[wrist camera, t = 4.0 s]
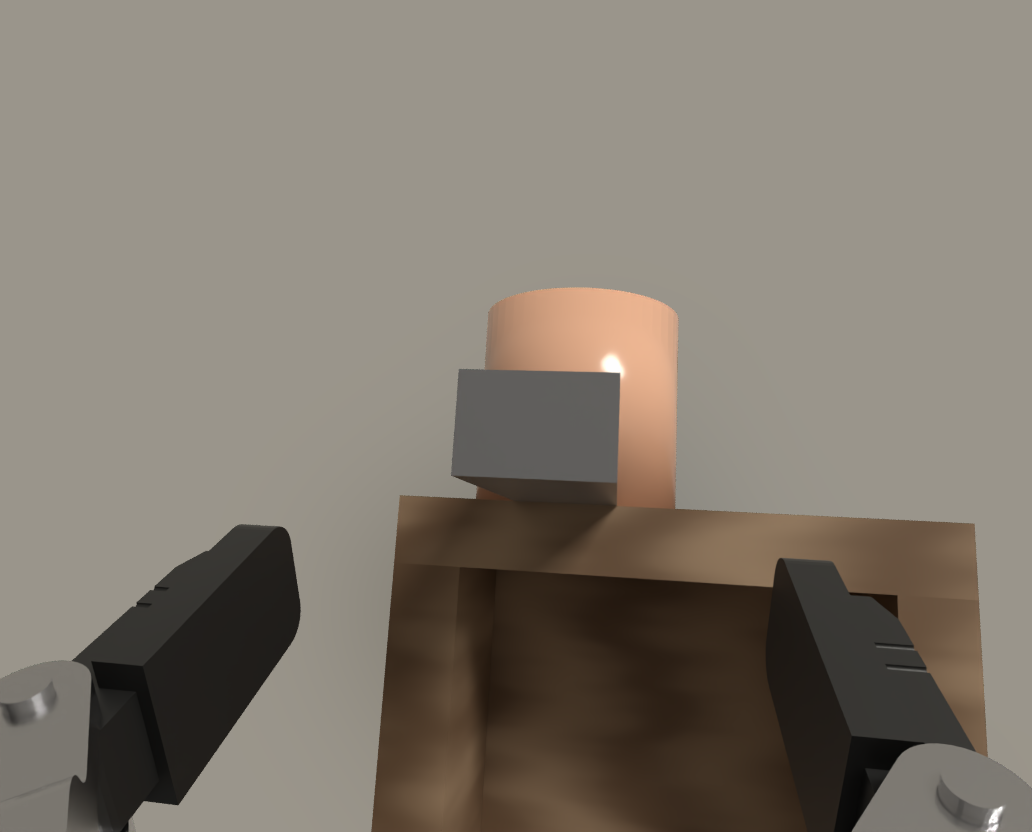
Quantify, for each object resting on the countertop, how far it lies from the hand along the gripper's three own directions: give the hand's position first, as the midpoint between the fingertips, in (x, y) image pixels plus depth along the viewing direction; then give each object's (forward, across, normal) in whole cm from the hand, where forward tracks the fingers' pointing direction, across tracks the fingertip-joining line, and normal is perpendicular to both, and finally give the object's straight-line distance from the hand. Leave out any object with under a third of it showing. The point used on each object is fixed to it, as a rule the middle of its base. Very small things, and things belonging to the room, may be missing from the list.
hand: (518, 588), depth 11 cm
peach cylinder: (+9, 0, +3) cm, 9 cm away
